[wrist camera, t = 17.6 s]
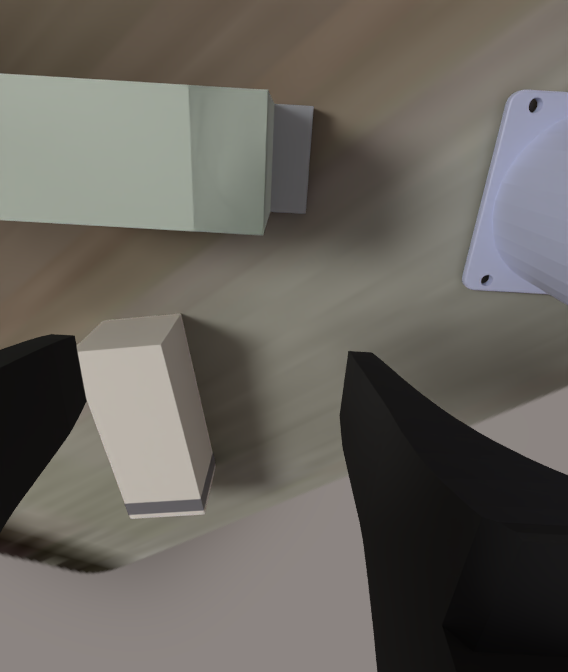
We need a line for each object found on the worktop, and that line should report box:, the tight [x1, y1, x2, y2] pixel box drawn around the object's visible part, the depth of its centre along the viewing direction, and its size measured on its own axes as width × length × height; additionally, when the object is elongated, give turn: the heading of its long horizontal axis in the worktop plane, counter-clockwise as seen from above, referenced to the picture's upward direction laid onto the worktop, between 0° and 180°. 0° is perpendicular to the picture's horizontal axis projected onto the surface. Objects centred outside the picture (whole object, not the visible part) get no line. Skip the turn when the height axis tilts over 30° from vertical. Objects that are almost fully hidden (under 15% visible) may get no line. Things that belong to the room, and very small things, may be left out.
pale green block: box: [0, 73, 314, 235], centre depth 15 cm, size 13×4×6 cm, turn 87°
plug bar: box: [77, 313, 216, 519], centre depth 21 cm, size 4×10×4 cm, turn 6°
